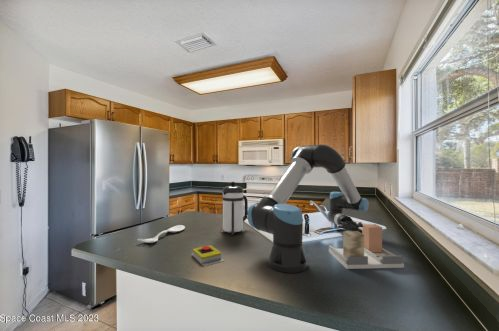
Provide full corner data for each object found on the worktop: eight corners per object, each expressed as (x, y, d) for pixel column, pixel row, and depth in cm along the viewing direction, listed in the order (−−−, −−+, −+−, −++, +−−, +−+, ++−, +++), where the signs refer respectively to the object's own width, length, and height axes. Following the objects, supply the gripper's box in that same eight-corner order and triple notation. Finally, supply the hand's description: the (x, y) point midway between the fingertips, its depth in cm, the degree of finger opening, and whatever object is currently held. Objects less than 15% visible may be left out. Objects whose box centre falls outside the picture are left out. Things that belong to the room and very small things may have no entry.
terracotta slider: (368, 252, 99) (369, 227, 99) (362, 248, 104) (362, 224, 104) (382, 252, 100) (382, 227, 100) (375, 248, 105) (375, 224, 105)
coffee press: (246, 236, 127) (247, 182, 127) (218, 236, 127) (218, 182, 127) (247, 227, 144) (247, 180, 144) (222, 227, 145) (222, 180, 144)
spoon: (136, 245, 112) (136, 238, 112) (175, 228, 143) (175, 223, 143) (151, 247, 110) (151, 240, 110) (187, 229, 140) (187, 224, 140)
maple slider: (349, 263, 88) (349, 234, 88) (343, 257, 93) (343, 231, 93) (364, 262, 89) (364, 234, 89) (357, 257, 94) (357, 231, 94)
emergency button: (210, 241, 107) (224, 251, 94) (210, 250, 107) (224, 262, 94) (190, 245, 102) (203, 256, 89) (190, 255, 102) (203, 267, 89)
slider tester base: (346, 268, 87) (346, 257, 87) (328, 252, 104) (328, 242, 104) (403, 267, 89) (403, 256, 89) (376, 251, 106) (377, 241, 106)
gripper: (354, 227, 130) (380, 241, 107) (332, 228, 130) (354, 241, 106) (354, 214, 130) (380, 225, 107) (332, 214, 130) (354, 225, 106)
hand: (367, 233), depth 106 cm, fingers closed
